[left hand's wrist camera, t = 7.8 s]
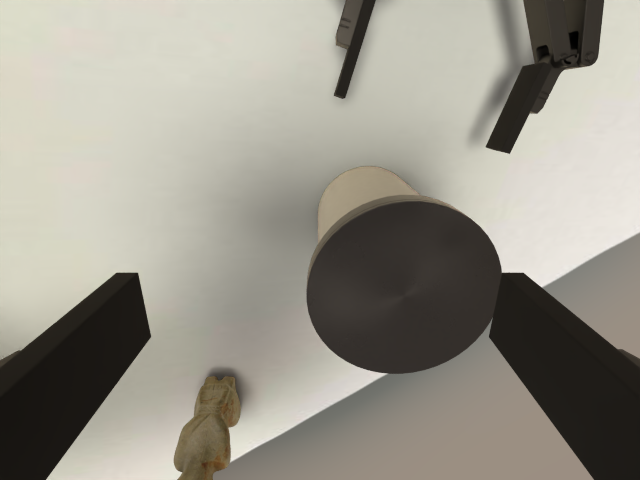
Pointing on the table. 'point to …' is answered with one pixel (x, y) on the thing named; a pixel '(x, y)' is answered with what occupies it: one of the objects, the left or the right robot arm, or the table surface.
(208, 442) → the sculpture
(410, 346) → the lid
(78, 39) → the table surface
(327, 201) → the jar
